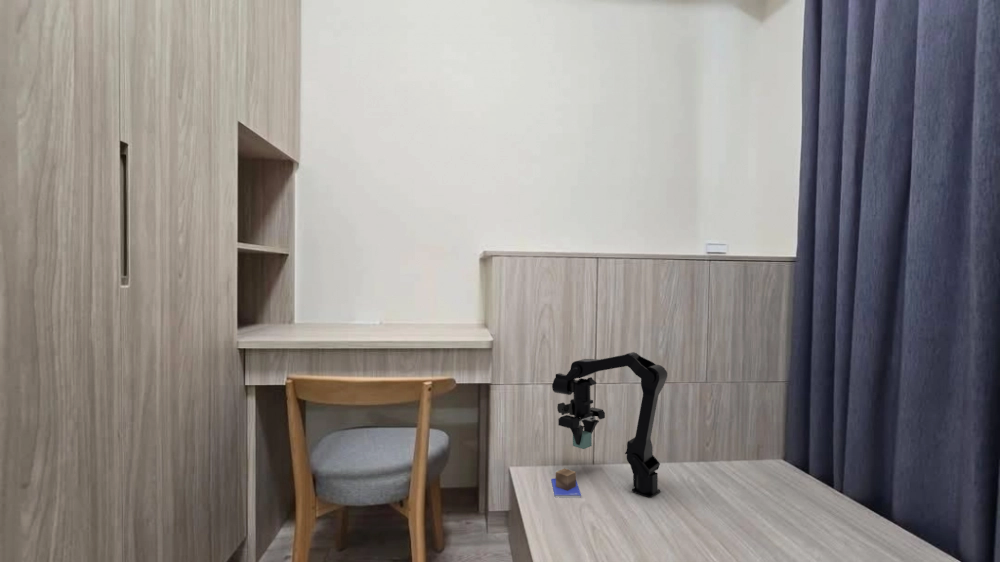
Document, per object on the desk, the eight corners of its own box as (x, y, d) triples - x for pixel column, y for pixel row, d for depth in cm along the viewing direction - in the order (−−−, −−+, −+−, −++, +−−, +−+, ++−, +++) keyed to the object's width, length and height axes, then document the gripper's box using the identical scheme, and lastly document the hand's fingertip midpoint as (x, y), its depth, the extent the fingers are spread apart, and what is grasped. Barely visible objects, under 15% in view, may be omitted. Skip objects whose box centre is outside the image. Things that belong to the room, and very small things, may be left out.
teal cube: (591, 446, 163) (591, 432, 163) (583, 449, 160) (583, 435, 160) (581, 442, 167) (580, 429, 167) (572, 445, 164) (572, 432, 164)
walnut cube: (576, 486, 152) (575, 472, 152) (567, 490, 148) (567, 476, 149) (564, 482, 155) (564, 468, 155) (555, 486, 152) (555, 472, 152)
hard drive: (581, 495, 145) (576, 478, 158) (554, 494, 146) (551, 478, 158) (581, 500, 145) (576, 483, 158) (554, 500, 146) (551, 482, 158)
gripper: (580, 388, 176) (580, 431, 176) (545, 397, 163) (546, 443, 163) (605, 393, 167) (606, 438, 167) (571, 403, 155) (572, 451, 155)
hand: (582, 442), depth 163 cm, fingers closed on teal cube, 4 cm apart
